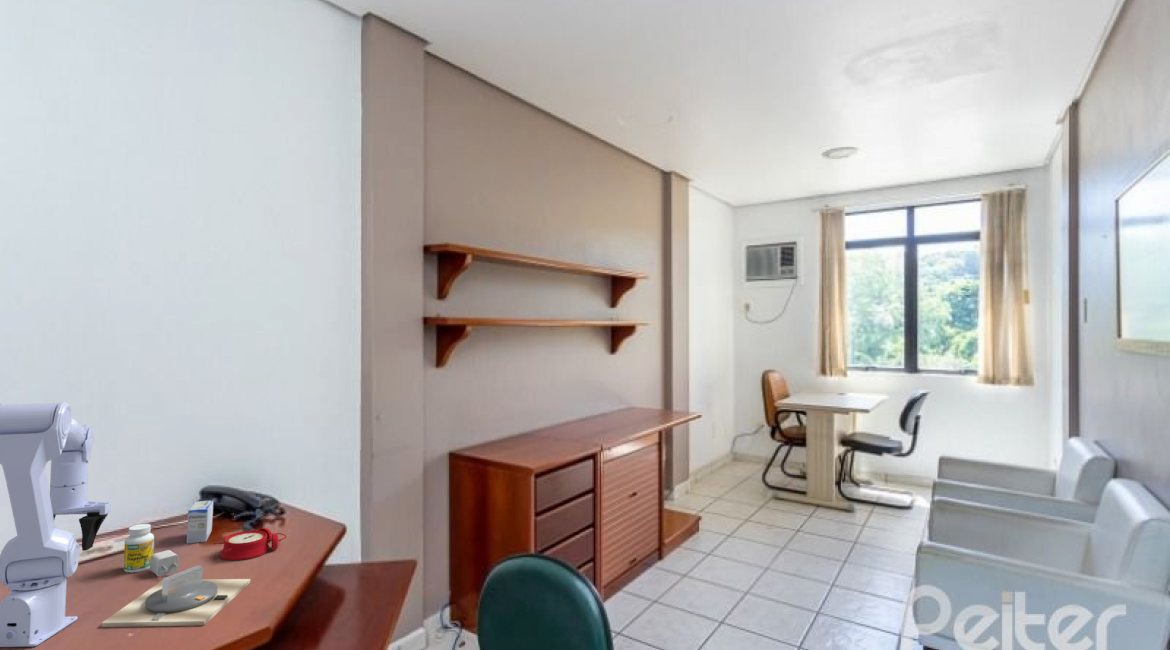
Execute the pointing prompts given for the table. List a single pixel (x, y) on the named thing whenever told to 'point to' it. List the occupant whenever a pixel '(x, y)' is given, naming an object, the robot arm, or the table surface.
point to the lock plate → (198, 615)
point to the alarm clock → (248, 544)
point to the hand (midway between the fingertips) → (66, 549)
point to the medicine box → (199, 521)
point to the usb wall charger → (164, 563)
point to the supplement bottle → (138, 548)
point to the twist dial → (182, 592)
